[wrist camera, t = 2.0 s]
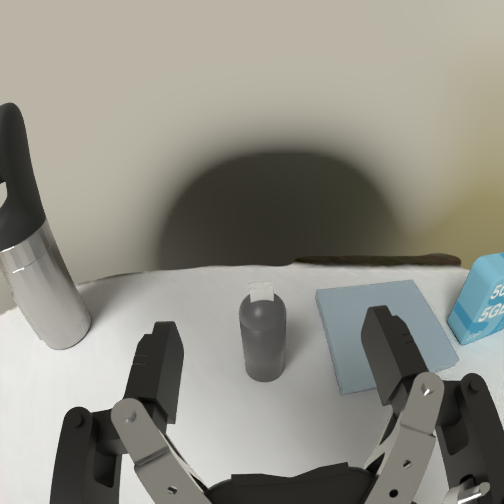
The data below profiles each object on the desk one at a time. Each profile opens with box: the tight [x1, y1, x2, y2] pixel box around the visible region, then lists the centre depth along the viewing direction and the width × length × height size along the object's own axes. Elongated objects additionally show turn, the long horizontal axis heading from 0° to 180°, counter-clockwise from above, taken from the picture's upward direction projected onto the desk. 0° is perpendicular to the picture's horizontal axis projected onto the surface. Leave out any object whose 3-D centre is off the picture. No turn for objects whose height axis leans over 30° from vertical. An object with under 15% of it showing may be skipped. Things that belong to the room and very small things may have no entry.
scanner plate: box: [315, 280, 459, 395], centre depth 34 cm, size 16×16×2 cm
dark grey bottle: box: [239, 282, 286, 382], centre depth 28 cm, size 4×4×12 cm
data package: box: [448, 252, 504, 345], centre depth 28 cm, size 12×4×12 cm, turn 93°
